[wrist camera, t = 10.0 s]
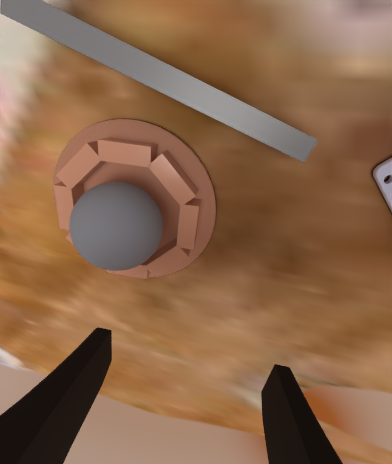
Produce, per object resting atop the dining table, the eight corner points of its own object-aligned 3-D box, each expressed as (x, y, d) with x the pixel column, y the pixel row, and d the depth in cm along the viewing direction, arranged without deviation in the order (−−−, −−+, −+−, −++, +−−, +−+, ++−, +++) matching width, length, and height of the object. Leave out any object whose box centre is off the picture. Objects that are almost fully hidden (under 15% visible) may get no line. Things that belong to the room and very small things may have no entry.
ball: (186, 217, 17) (172, 259, 12) (133, 255, 19) (104, 304, 14) (132, 154, 16) (92, 175, 11) (81, 203, 18) (27, 238, 13)
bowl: (248, 225, 18) (251, 237, 16) (135, 294, 22) (127, 311, 20) (135, 73, 14) (122, 67, 12) (27, 191, 18) (5, 199, 17)
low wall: (301, 135, 15) (318, 140, 12) (290, 153, 15) (303, 162, 12) (46, 7, 13) (1, -21, 11) (44, 32, 14) (0, 13, 11)
